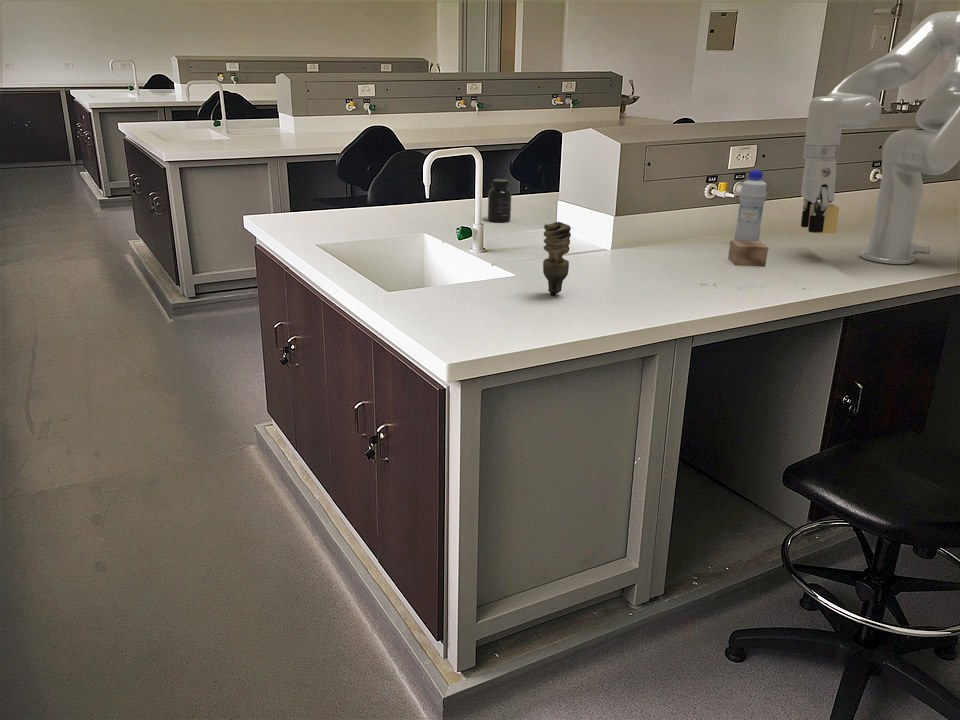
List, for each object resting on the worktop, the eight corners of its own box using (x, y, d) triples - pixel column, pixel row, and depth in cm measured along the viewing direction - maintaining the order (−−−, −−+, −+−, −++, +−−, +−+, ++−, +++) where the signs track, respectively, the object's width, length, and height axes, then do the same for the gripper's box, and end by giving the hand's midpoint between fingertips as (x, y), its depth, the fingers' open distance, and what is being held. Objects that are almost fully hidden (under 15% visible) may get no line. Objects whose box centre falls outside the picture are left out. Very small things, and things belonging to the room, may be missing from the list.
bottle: (730, 247, 209) (740, 170, 202) (735, 242, 214) (745, 167, 207) (756, 250, 206) (768, 172, 199) (760, 245, 212) (772, 169, 204)
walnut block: (757, 259, 190) (760, 241, 188) (765, 266, 183) (768, 247, 182) (728, 258, 190) (730, 239, 189) (734, 265, 184) (737, 246, 182)
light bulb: (534, 294, 162) (538, 221, 157) (551, 289, 166) (556, 218, 160) (555, 300, 158) (559, 225, 153) (572, 295, 162) (577, 222, 156)
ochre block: (828, 228, 192) (831, 203, 190) (835, 232, 188) (839, 207, 185) (807, 228, 193) (810, 204, 190) (814, 233, 188) (817, 208, 186)
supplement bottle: (483, 219, 237) (484, 178, 233) (504, 218, 240) (505, 178, 236) (493, 223, 231) (495, 182, 227) (514, 222, 234) (516, 181, 230)
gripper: (851, 156, 175) (839, 237, 182) (825, 147, 191) (816, 221, 198) (816, 157, 176) (806, 237, 183) (793, 148, 192) (785, 222, 198)
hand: (811, 228), depth 190 cm, fingers closed on ochre block, 5 cm apart
